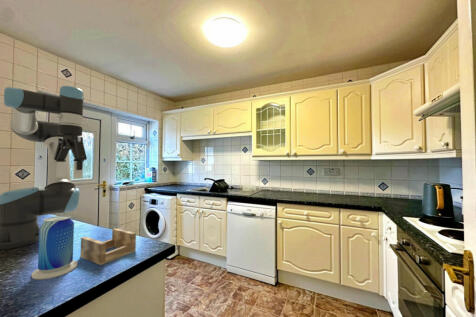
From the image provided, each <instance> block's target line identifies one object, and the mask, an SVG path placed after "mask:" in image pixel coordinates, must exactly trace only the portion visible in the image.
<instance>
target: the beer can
mask: <svg viewBox="0 0 476 317" xmlns="http://www.w3.org/2000/svg"><path fill="white" fill-rule="evenodd" d="M74 232H75V223H74V220H72V216H70V215H58V216H51V217H46V218H44V219H43V222H42V224H41V225H40V226H39V241H38V249H37V250H38V253H37V254H38V256H37V269H38V270H40V271H41V272H42V273H53V272H57V271H61V270H63V269H65V268H67V267H68V266H69V265H70V263H71V262H72V261H73V260H74V257H73V256H74V238H75V237H74V236H75V235H74Z"/></svg>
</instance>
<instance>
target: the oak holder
mask: <svg viewBox="0 0 476 317" xmlns="http://www.w3.org/2000/svg"><path fill="white" fill-rule="evenodd" d="M111 232H112V233H111V235H112V236H111V239H107V240H104V241H101V240H97V239H94V238H91V237H88V236H83V237H81V238H80V258H82V259H84V260H87V261H89V262H91V263H94V264H97V265H99V266H102V265H105V264H107V263H109V262H112V261H114V260H116V259H119V258H122V257H123V256H126V255H130V254H131V253H134V252H136V248H137V246H136V245H137V241H136V240H137V232H133V231H129V230H125V229H121V228H117V227H116V228H112V230H111ZM113 248H114V249H113ZM110 249H111V250H110ZM112 249H113V250H112ZM106 250H109V251H106Z"/></svg>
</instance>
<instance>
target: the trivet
mask: <svg viewBox="0 0 476 317" xmlns="http://www.w3.org/2000/svg"><path fill="white" fill-rule="evenodd" d="M78 264H79V263H78V261H77V260H74V259H73V261H72V262H71V263H70V265H69V266H68V267H67V268H65V269H63V270H61V271H57V272H53V273H42V272H41V271H40V270H38V268H37V269H34V270H33V272H31V279H33V280H39V281H40V280H48V279H53V278H56V277H61V276H63V275H66V274H68V273H70V272H72V271H74V270H75V269H76V268H77V267H78Z"/></svg>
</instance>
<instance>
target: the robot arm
mask: <svg viewBox="0 0 476 317" xmlns="http://www.w3.org/2000/svg"><path fill="white" fill-rule="evenodd" d="M58 94H59V95H54V94H50V93H49V94H48V93H43V92H38V91H32V90H27V89H24V88H17V87H10V86H7V87H5V88H4V91H3V104H4V106H5V107H8V108H11V109H12V118H11V120H10V123H9V126H10V130H11V131H12V132H13V133H14V134H15V135H17V136H18V137H20V138H22V139H24V140H26V141H30V142H34V143H35V142H36V143H43V145H44V146H45V147H46V148H47V167H48V172H47V174H48V176H47V178H48V183H47V184H46V185H45V186H44V189H41V190H40V189H39V187H37V186H36V187H35V186H34V187H24V188H18V189H11V190H7V191H4V192H2V193H1V194H0V250H10V249H14V248H20V247H25V246H29V245H31V244H34V243H38V242H39V228H40V226H39V223H38V217H39V216H41V217H42V216H46V215H57V214H66V213H69V212H70V213H71V212H74V211H75V210H77V209H78V208H77V207H78V205H79V201H80V192H81V191H80V187H76V185H75V183H74V182H72V179H74V180H77V179H78V180H79V179H83V171H84V170H83V168H84V162H85V161H87V158H88V157H87V153H86V150H85V145H84V137H83V125H84V124H83V123H84V122H83V121H84V115H83V114H84V99H85V98H84V91H83V90H82V89H81V88H79V87H75V86H70V85H61V86H60V87H59V93H58ZM38 112H42V113H49V114H56V115H57V118H58V122H52V121H44V120H38V119H37V118H38ZM70 151H71V153H72V156H73V171H72V172H73V176H71V164H70V163H71V162H70ZM72 177H73V178H72Z"/></svg>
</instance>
